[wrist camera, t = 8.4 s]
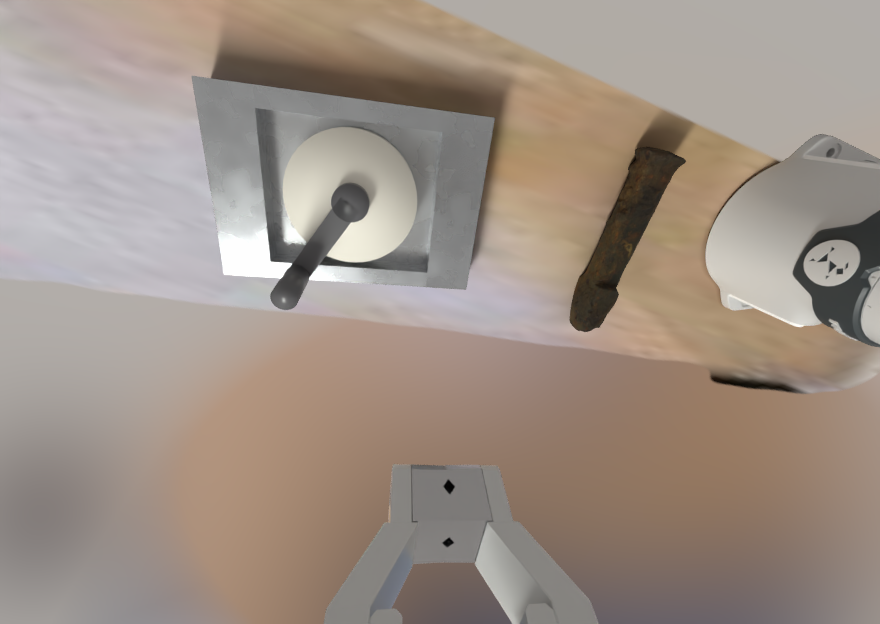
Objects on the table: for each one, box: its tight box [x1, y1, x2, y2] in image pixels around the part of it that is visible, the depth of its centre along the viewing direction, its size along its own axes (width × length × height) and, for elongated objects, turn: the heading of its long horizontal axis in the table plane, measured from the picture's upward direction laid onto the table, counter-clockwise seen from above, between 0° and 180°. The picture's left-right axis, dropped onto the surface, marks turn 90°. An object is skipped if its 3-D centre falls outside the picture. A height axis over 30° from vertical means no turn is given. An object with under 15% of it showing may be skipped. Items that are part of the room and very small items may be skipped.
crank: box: [270, 127, 417, 310], centre depth 30 cm, size 11×14×8 cm
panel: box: [192, 76, 495, 290], centre depth 32 cm, size 22×16×3 cm
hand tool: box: [570, 147, 686, 332], centre depth 37 cm, size 19×4×5 cm, turn 163°
